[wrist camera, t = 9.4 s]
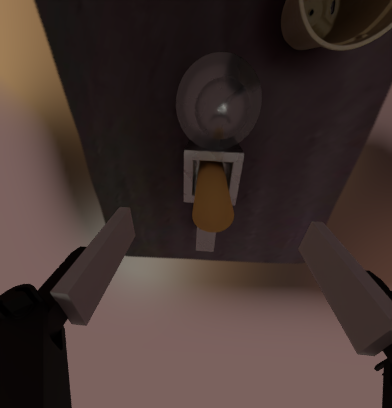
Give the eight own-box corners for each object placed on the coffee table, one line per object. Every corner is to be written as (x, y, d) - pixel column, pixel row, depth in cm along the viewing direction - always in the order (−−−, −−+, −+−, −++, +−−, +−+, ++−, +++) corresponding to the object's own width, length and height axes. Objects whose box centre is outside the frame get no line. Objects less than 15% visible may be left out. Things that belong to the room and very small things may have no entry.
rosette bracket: (227, 227, 36) (236, 292, 24) (183, 224, 36) (170, 286, 24) (254, 66, 22) (307, 27, 10) (184, 63, 23) (156, 22, 11)
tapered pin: (197, 155, 27) (187, 202, 15) (220, 150, 26) (231, 194, 14) (202, 177, 28) (197, 234, 16) (224, 173, 28) (236, 229, 16)
